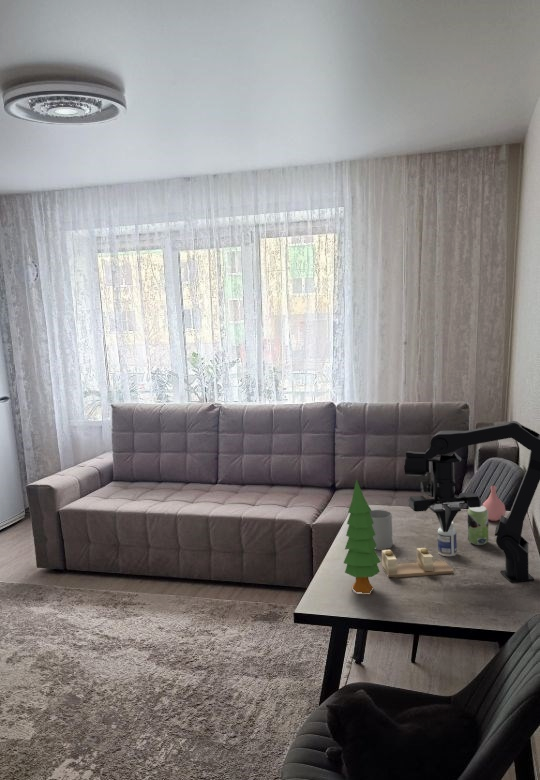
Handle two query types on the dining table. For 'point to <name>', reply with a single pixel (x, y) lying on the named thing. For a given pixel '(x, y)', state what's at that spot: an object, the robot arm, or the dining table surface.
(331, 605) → the dining table surface
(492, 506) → the perfume bottle
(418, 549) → the jaw
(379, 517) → the cup
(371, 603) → the dining table surface
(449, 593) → the dining table surface
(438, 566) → the wooden cradle stand
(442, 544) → the pill bottle
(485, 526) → the beverage can
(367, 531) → the decorative tree
